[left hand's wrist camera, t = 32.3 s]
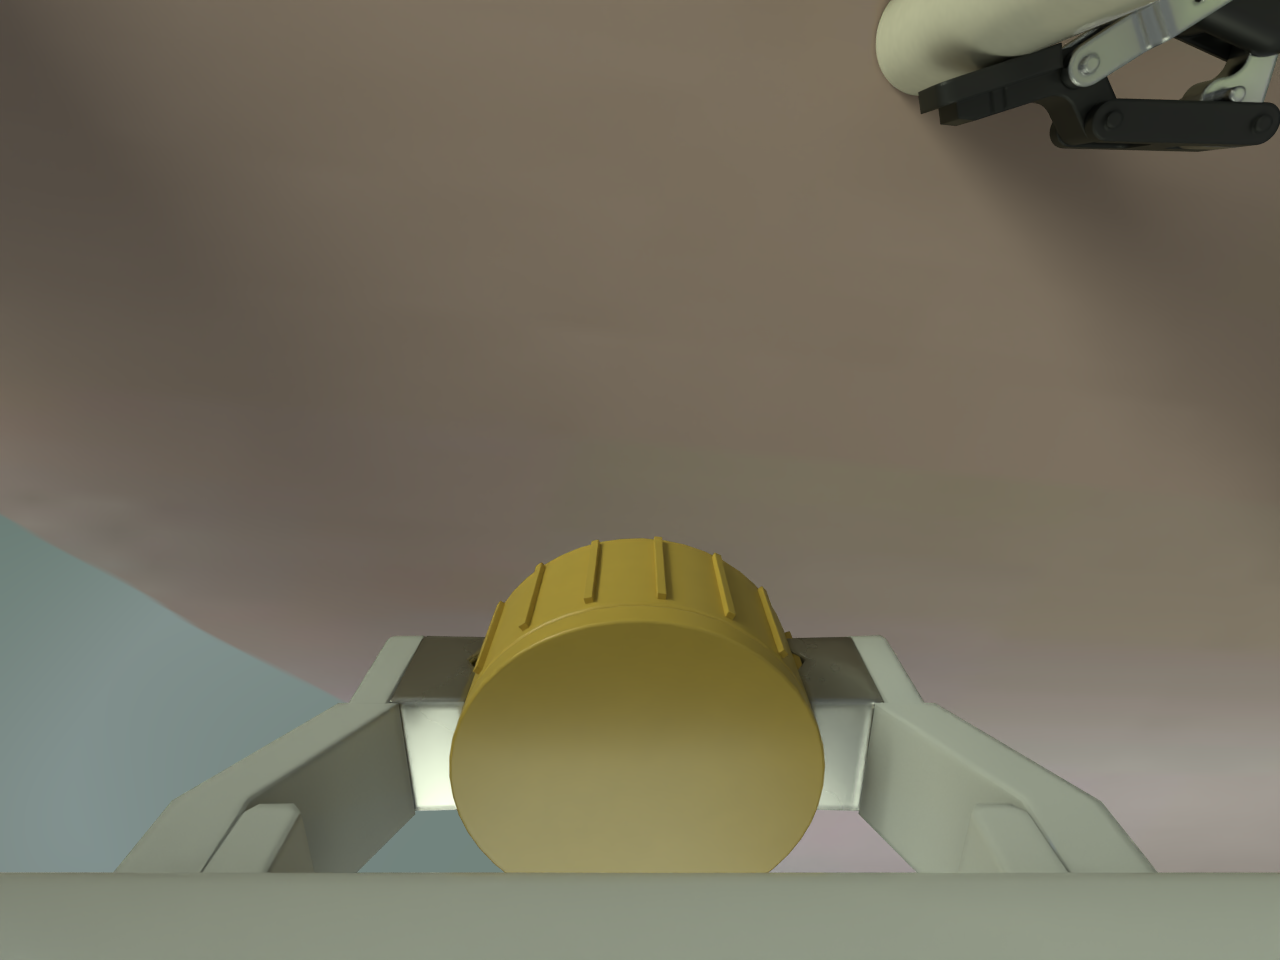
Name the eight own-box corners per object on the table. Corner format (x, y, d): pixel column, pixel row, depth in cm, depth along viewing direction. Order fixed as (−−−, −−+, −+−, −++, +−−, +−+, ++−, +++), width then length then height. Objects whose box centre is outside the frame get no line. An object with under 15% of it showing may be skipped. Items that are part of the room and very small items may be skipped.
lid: (812, 536, 10) (858, 619, 8) (776, 797, 11) (808, 923, 9) (473, 527, 10) (429, 609, 8) (489, 791, 11) (456, 916, 9)
